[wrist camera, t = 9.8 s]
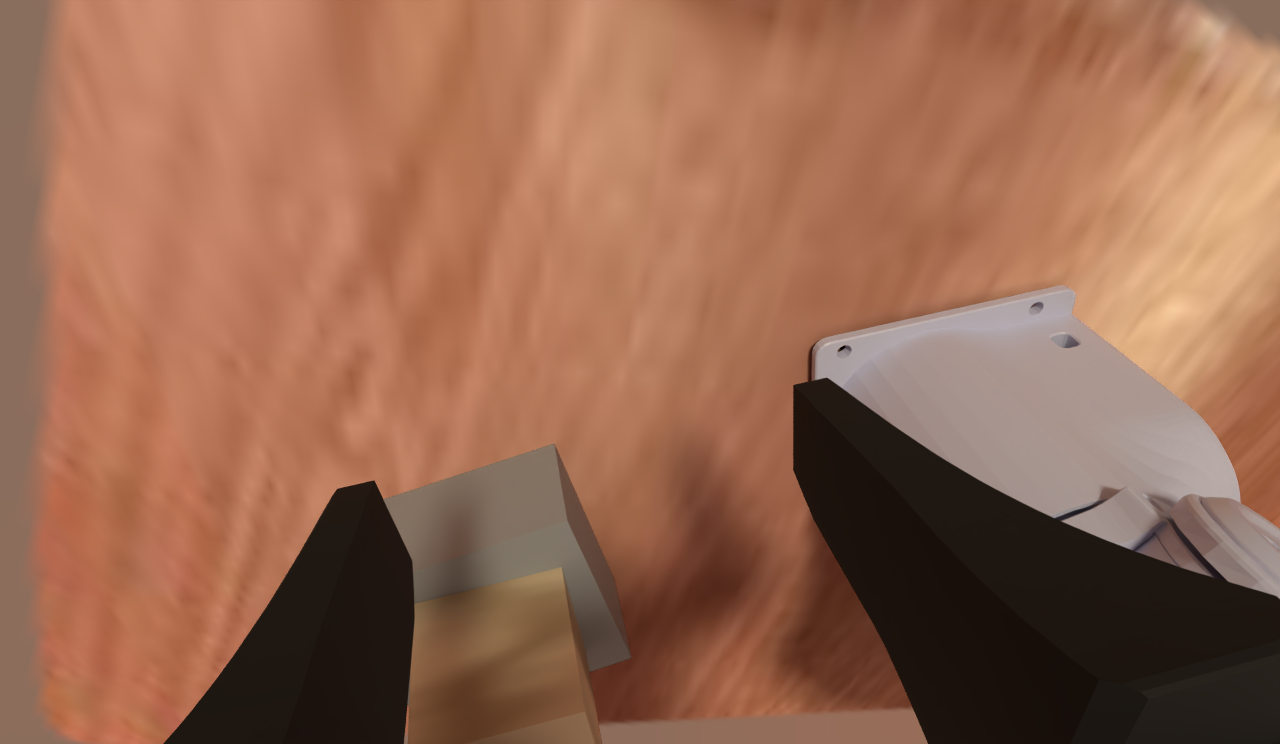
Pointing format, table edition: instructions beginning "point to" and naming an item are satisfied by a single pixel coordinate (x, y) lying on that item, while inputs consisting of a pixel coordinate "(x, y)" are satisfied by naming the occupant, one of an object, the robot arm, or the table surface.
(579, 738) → the maple cube
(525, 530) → the slate base block
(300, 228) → the table surface
